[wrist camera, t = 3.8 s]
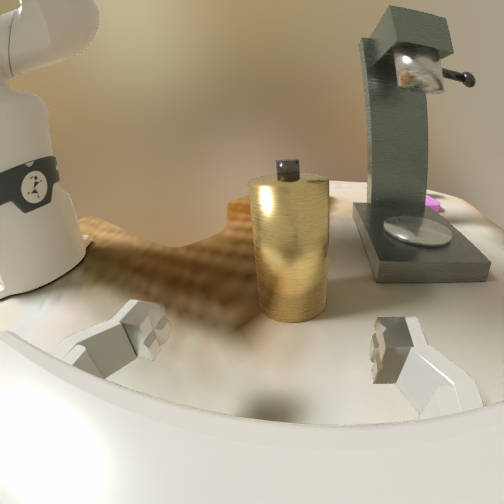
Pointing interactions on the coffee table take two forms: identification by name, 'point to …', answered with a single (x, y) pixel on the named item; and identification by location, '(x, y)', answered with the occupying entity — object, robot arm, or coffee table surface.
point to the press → (408, 155)
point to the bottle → (290, 241)
